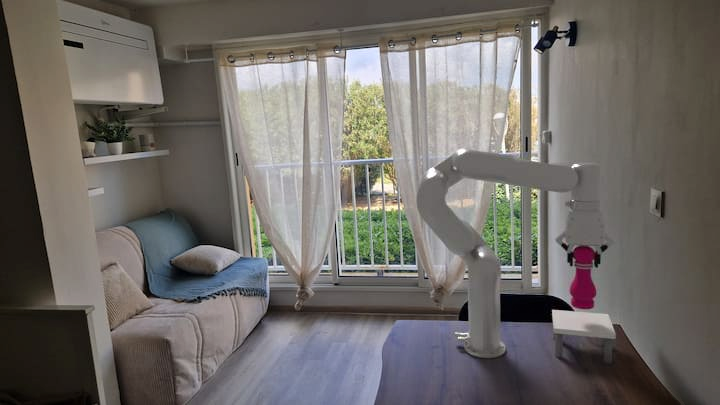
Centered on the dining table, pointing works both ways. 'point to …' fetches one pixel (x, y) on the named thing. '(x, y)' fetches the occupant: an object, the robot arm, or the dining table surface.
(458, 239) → the robot arm
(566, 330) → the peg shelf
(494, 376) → the dining table surface
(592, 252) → the pepper mill
